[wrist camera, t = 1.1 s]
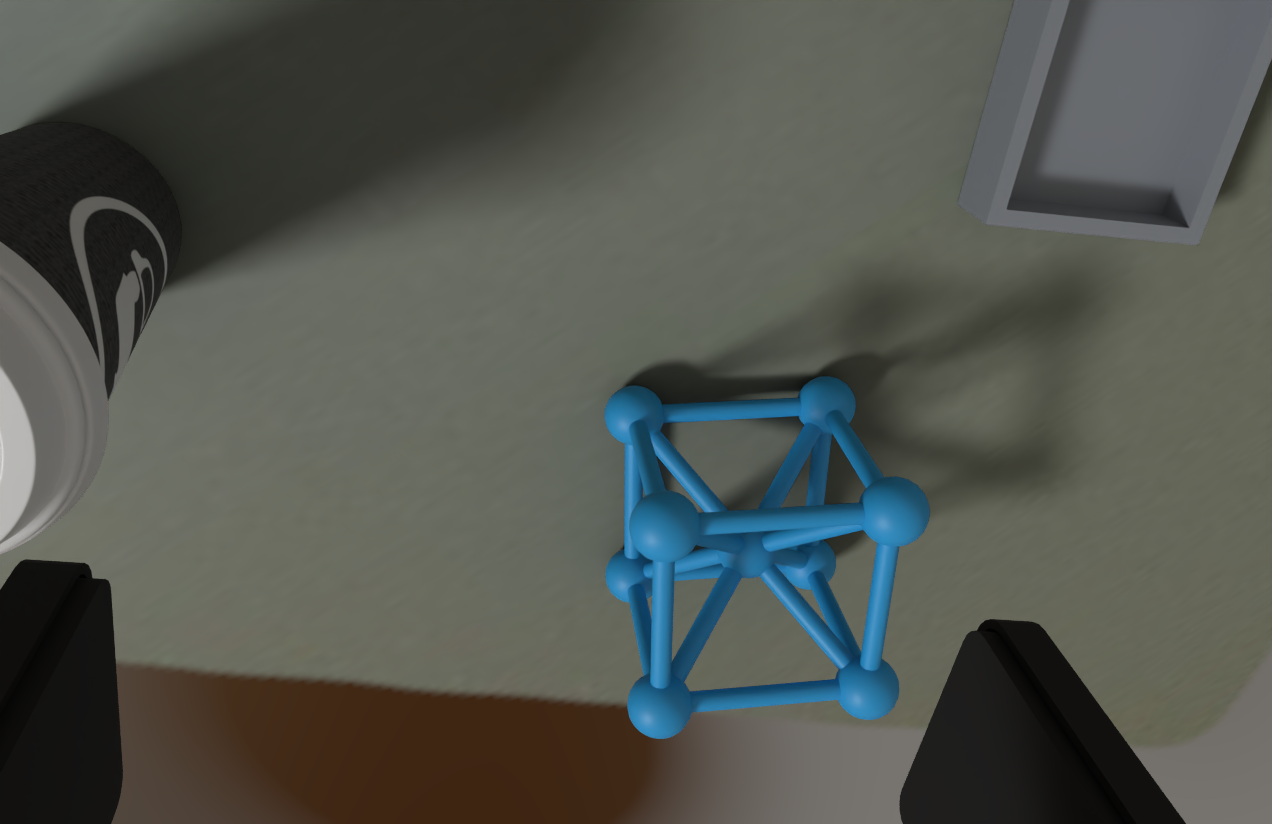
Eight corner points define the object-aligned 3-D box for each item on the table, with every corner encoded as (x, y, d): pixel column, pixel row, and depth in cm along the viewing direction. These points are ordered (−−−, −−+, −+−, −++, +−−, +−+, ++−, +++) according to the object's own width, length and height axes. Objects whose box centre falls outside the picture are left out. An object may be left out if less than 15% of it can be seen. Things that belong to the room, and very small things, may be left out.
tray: (1034, -73, 34) (1072, -69, 32) (1257, -38, 36) (1307, -32, 33) (957, 204, 38) (985, 224, 36) (1158, 224, 40) (1197, 245, 38)
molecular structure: (848, 364, 41) (946, 498, 32) (824, 566, 46) (904, 731, 37) (601, 376, 40) (634, 518, 31) (602, 582, 45) (631, 756, 36)
